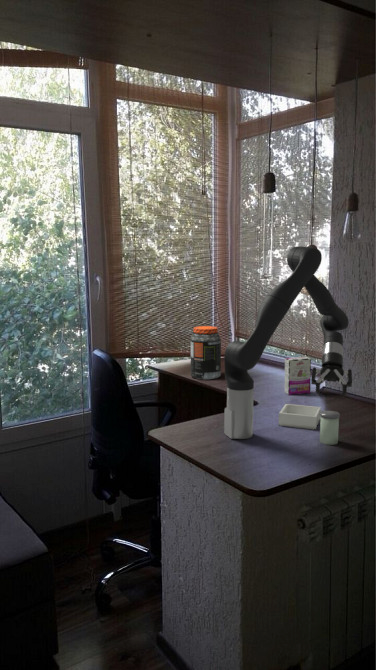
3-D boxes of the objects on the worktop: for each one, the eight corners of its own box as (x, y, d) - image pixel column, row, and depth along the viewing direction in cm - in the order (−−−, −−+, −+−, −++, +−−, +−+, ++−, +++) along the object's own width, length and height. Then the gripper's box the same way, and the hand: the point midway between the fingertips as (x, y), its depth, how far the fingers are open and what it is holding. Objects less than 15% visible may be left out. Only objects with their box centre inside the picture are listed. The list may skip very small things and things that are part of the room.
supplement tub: (221, 373, 291) (222, 325, 288) (220, 380, 276) (220, 329, 272) (191, 373, 293) (192, 325, 289) (188, 379, 278) (188, 329, 274)
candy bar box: (305, 391, 256) (306, 356, 253) (310, 393, 251) (311, 358, 249) (283, 392, 253) (284, 357, 250) (288, 395, 248) (289, 359, 246)
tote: (315, 429, 200) (316, 416, 199) (278, 425, 204) (278, 413, 204) (320, 419, 212) (320, 407, 212) (285, 415, 217) (285, 403, 216)
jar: (326, 445, 183) (327, 416, 182) (315, 439, 189) (316, 411, 188) (342, 443, 185) (343, 415, 184) (331, 437, 191) (332, 409, 190)
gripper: (312, 350, 203) (310, 387, 194) (353, 352, 199) (352, 390, 190) (313, 361, 209) (310, 398, 199) (352, 363, 205) (351, 401, 196)
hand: (330, 394), depth 195 cm, fingers open, 8 cm apart
